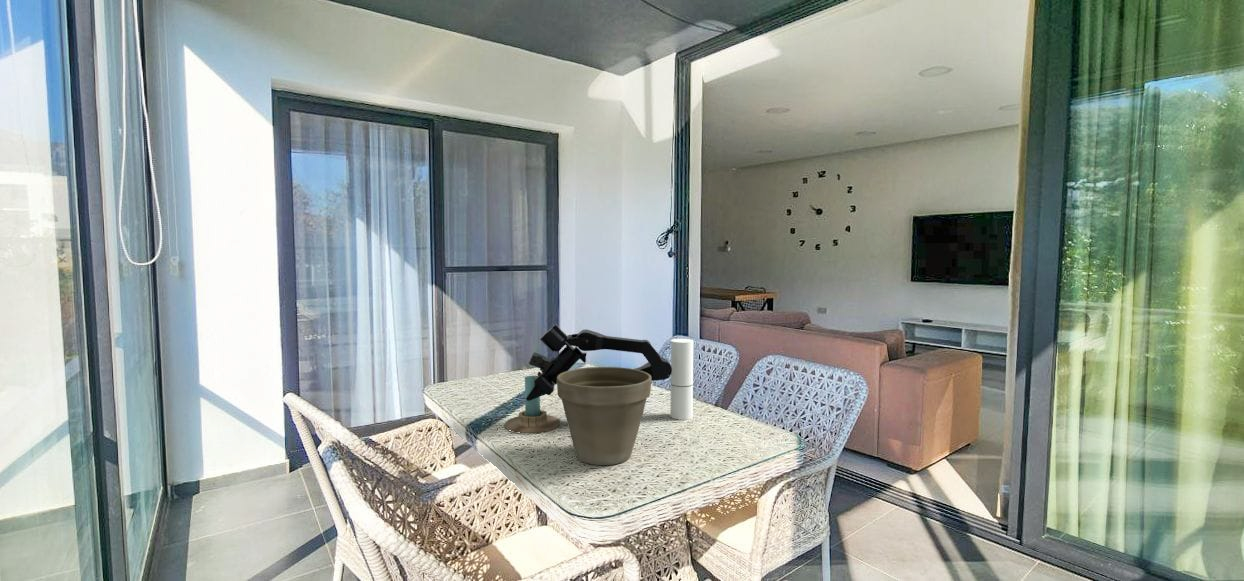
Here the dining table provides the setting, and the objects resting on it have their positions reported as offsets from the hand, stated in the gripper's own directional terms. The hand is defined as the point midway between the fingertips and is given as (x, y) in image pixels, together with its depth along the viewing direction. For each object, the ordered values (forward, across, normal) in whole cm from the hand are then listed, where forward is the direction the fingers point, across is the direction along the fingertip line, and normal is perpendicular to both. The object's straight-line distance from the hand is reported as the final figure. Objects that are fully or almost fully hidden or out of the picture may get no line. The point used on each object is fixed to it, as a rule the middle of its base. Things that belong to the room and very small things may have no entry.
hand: (528, 397), depth 175 cm
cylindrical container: (-28, -7, +41) cm, 50 cm away
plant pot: (-10, +26, +23) cm, 36 cm away
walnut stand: (+5, 0, +7) cm, 9 cm away
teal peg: (+4, 0, +6) cm, 7 cm away
